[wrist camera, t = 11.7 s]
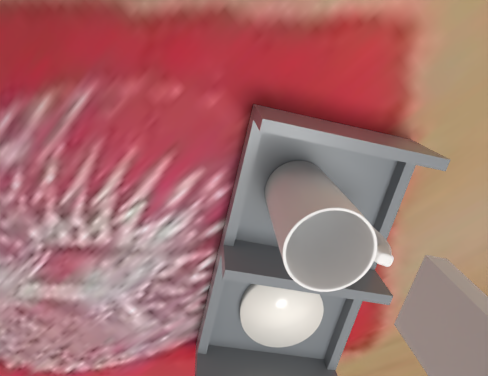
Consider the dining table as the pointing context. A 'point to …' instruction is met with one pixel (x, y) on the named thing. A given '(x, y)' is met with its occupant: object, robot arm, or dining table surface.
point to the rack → (266, 246)
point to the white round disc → (279, 315)
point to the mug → (321, 229)
